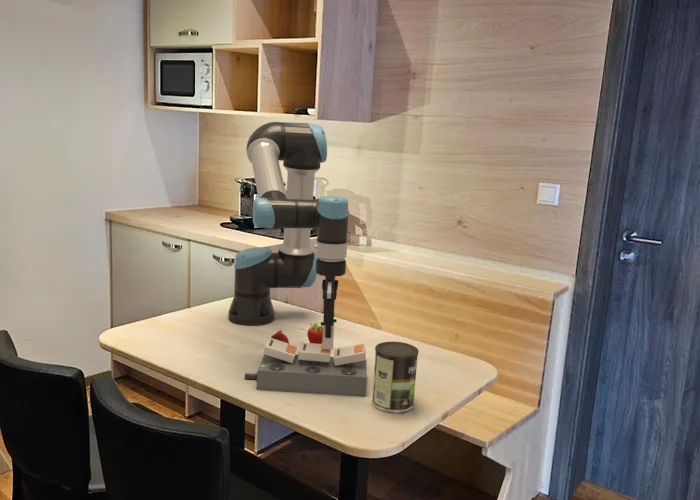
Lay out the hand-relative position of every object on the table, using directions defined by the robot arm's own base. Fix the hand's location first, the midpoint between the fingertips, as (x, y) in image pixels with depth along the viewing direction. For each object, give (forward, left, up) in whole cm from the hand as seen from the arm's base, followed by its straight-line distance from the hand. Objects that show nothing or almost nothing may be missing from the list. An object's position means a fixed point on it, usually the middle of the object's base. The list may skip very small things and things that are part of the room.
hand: (327, 348), depth 163 cm
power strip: (+2, -5, -9) cm, 10 cm away
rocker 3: (0, +6, -1) cm, 6 cm away
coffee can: (+11, +17, -9) cm, 22 cm away
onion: (-14, -14, -9) cm, 22 cm away
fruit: (-23, -4, -9) cm, 25 cm away
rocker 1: (0, -12, -2) cm, 13 cm away
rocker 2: (0, -3, -1) cm, 3 cm away
